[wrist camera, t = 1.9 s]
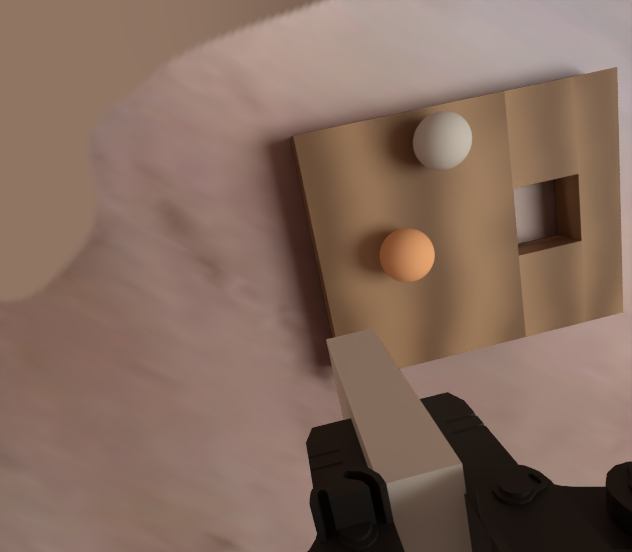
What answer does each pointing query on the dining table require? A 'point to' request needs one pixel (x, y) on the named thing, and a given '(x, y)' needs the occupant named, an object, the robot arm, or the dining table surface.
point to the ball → (407, 255)
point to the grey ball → (442, 140)
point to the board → (470, 219)
